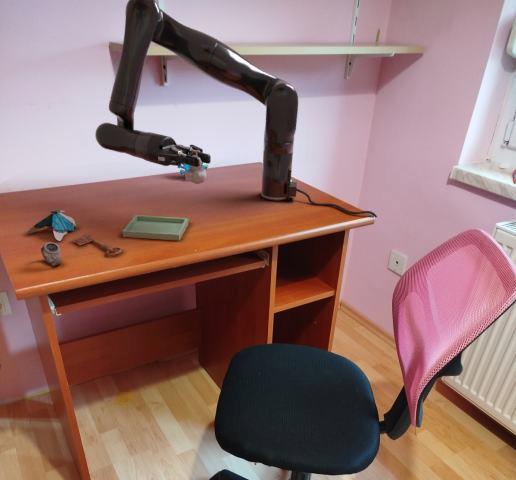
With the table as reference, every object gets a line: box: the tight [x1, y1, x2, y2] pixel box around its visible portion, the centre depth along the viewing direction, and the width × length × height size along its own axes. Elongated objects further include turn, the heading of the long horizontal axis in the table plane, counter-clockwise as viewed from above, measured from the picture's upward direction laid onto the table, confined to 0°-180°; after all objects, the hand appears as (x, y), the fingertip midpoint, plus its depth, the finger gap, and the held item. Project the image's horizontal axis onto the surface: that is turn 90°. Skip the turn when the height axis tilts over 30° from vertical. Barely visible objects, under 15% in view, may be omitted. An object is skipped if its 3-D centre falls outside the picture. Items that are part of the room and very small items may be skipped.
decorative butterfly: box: [26, 210, 77, 242], centre depth 126 cm, size 10×6×10 cm
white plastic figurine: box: [183, 152, 208, 185], centre depth 126 cm, size 5×7×8 cm
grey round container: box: [40, 241, 62, 267], centre depth 111 cm, size 4×6×5 cm, turn 49°
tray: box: [121, 214, 190, 242], centre depth 130 cm, size 15×12×2 cm
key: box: [72, 233, 123, 256], centre depth 120 cm, size 6×1×15 cm
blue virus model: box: [177, 164, 209, 175], centre depth 170 cm, size 11×6×10 cm
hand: (204, 160), depth 124 cm, fingers closed on white plastic figurine, 3 cm apart
